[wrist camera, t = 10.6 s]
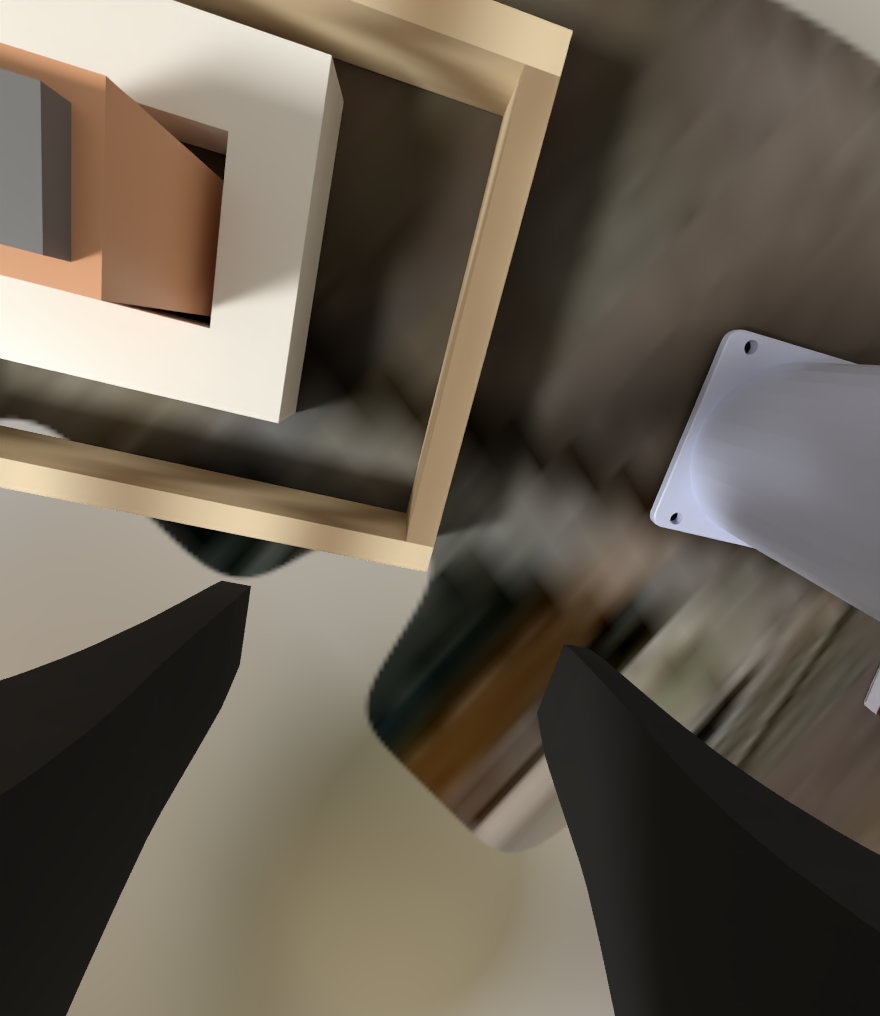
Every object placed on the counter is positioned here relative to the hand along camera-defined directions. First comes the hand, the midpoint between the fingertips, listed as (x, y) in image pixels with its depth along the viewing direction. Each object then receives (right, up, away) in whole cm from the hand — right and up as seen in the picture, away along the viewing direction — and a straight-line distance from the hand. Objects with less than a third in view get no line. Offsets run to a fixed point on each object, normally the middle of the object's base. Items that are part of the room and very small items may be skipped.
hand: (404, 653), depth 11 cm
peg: (-8, +12, +5) cm, 16 cm away
